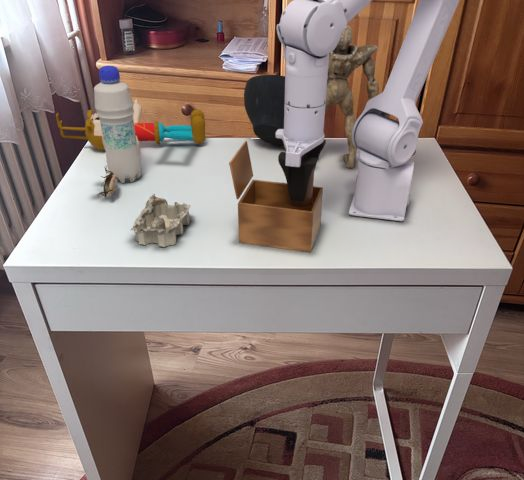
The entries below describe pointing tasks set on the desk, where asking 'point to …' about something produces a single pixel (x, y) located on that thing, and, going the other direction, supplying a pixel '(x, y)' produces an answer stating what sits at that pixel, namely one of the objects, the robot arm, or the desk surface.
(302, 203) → the brown cylinder
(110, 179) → the insect
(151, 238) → the egg carton
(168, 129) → the toy
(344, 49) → the figurine
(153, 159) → the desk surface
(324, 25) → the robot arm
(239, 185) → the flap
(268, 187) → the brown box
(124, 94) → the bottle
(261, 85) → the bowl
